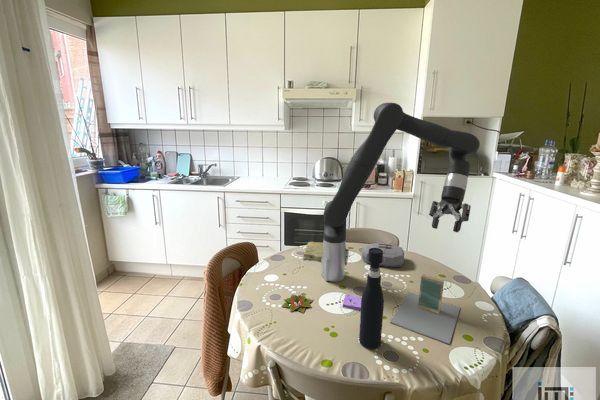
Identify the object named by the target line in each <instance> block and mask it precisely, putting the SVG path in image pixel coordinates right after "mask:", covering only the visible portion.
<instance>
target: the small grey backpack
mask: <svg viewBox="0 0 600 400" xmlns="http://www.w3.org/2000/svg"><path fill="white" fill-rule="evenodd" d="M370 248H379V249H381V250H383V259H382V263H381V264H380V266H379V267H384V268H385V267H386V268H387V267H388V268H400V267H401V268H402V266H403V265H404V262H405V252H404V249H403V247H401V246H397V245H393V244H388V243H380V242H379V243H377V242H375V243H369V244H367V245H365V246H363V247H362V248H361V251H360V254H361V259H362V260H363V262H365V263H366V264H370V262H369V261H368V255H369V249H370Z"/></svg>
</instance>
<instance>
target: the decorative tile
mask: <svg viewBox="0 0 600 400" xmlns="http://www.w3.org/2000/svg"><path fill="white" fill-rule="evenodd" d="M346 250H347V245H345V252H347V251H346ZM322 254H323V242H317V241H316V242H315V241H308V243H307V244H306V248H305V249H304V253H303V257H302V258H303V259H302V260H304V261H315V262H320V263H321V258H322Z"/></svg>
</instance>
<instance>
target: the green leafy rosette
mask: <svg viewBox="0 0 600 400" xmlns="http://www.w3.org/2000/svg"><path fill="white" fill-rule="evenodd" d="M283 300H284V301H285V303H283V305H281V306H280V307H283V308H284V307H285V308H289V310H290V313H292V312H294V311H296V310H297V311H299V312H301V313H302V314H304V312H305V310H306V307H307V308H312V305H311V304H310V303H311V302H313V301H314V299H310V298H306V296H305V295H304V292H303V293H300V294H298V293H297V291H296V293H294V292H293V294H292V295H290V297H287V298H285V299H283ZM299 301H300V302H299ZM294 302H296V303H295V304H294ZM299 303H300V304H299ZM289 304H291V305H290V306H289ZM296 304H297V305H296Z"/></svg>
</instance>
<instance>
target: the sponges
mask: <svg viewBox="0 0 600 400" xmlns="http://www.w3.org/2000/svg"><path fill="white" fill-rule="evenodd" d="M361 298H362V296H358V295H353V294H348V293H344V298H343V301H342V308H346V309H351V310H355V311H360V312H361Z"/></svg>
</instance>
